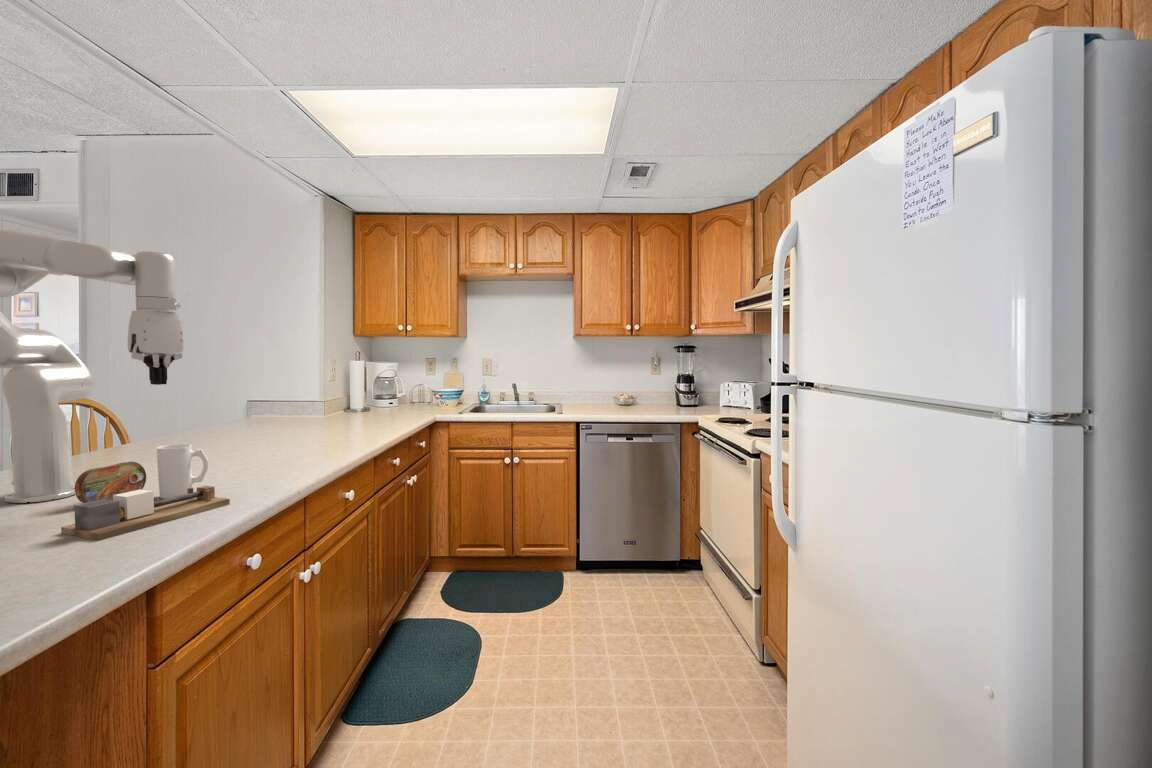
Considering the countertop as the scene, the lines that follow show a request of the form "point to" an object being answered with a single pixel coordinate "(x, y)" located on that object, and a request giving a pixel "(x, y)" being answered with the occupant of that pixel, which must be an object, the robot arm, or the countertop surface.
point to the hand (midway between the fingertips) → (158, 384)
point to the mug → (177, 469)
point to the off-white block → (136, 503)
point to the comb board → (110, 520)
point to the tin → (109, 481)
